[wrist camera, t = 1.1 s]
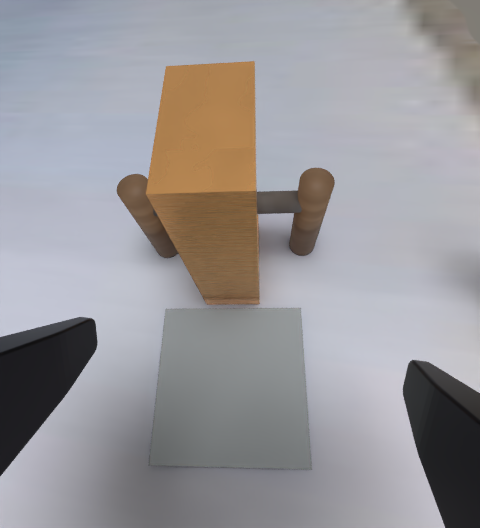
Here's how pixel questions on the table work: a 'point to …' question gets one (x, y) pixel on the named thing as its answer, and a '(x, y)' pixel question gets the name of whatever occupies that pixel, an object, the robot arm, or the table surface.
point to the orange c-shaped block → (209, 177)
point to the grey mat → (231, 390)
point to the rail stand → (298, 202)
